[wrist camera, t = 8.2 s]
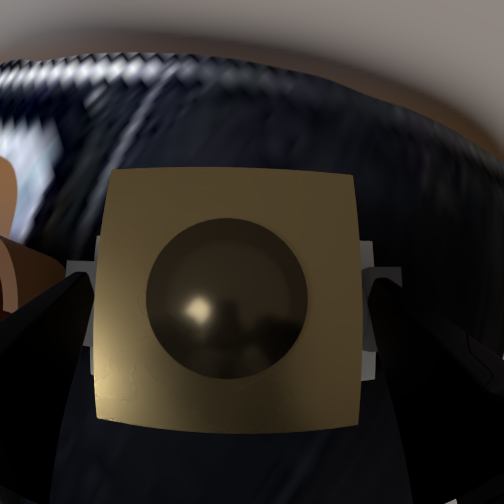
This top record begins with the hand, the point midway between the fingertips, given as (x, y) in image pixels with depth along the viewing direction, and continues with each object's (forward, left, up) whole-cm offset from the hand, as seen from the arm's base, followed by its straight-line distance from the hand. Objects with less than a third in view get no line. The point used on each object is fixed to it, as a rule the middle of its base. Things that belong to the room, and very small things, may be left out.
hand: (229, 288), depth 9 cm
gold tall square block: (0, 0, -9) cm, 9 cm away
